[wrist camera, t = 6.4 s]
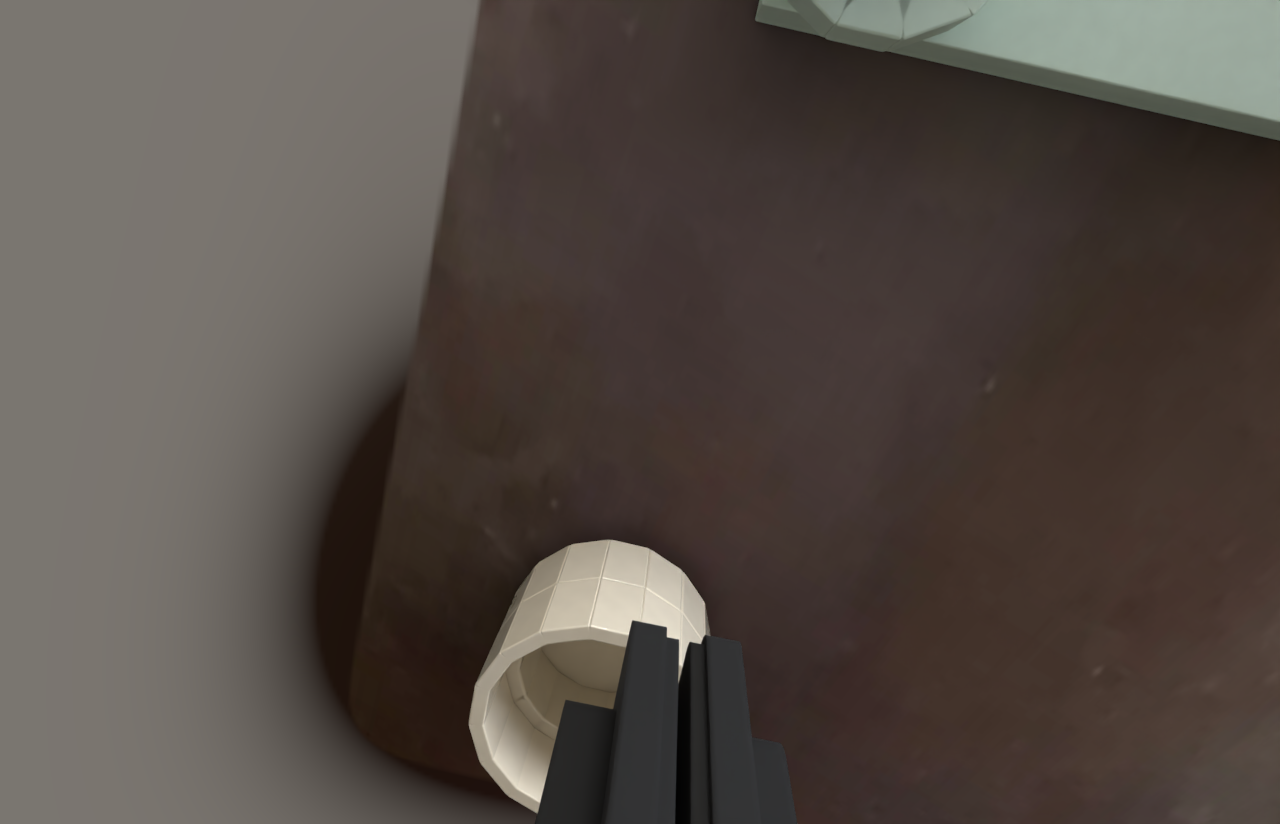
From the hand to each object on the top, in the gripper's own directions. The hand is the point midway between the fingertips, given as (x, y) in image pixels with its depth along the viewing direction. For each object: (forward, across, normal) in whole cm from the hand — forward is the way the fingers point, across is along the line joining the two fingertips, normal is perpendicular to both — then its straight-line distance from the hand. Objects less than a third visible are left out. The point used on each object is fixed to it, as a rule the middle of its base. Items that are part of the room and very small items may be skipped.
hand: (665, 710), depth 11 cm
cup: (+13, +1, +7) cm, 15 cm away
